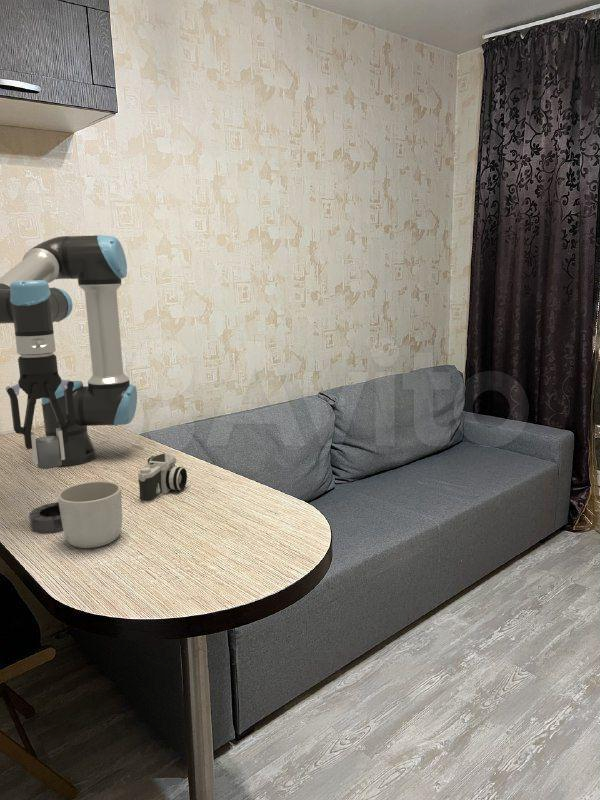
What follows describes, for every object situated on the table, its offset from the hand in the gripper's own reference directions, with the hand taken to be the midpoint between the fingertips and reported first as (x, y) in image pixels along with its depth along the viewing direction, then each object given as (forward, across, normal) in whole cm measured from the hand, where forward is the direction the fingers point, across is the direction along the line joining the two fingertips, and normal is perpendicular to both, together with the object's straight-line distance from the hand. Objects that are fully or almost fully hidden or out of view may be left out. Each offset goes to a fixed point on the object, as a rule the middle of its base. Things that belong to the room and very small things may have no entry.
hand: (48, 460), depth 136 cm
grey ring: (+15, 0, 0) cm, 15 cm away
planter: (+15, +5, -14) cm, 21 cm away
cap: (+1, 0, 0) cm, 1 cm away
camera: (+15, +27, +5) cm, 32 cm away
